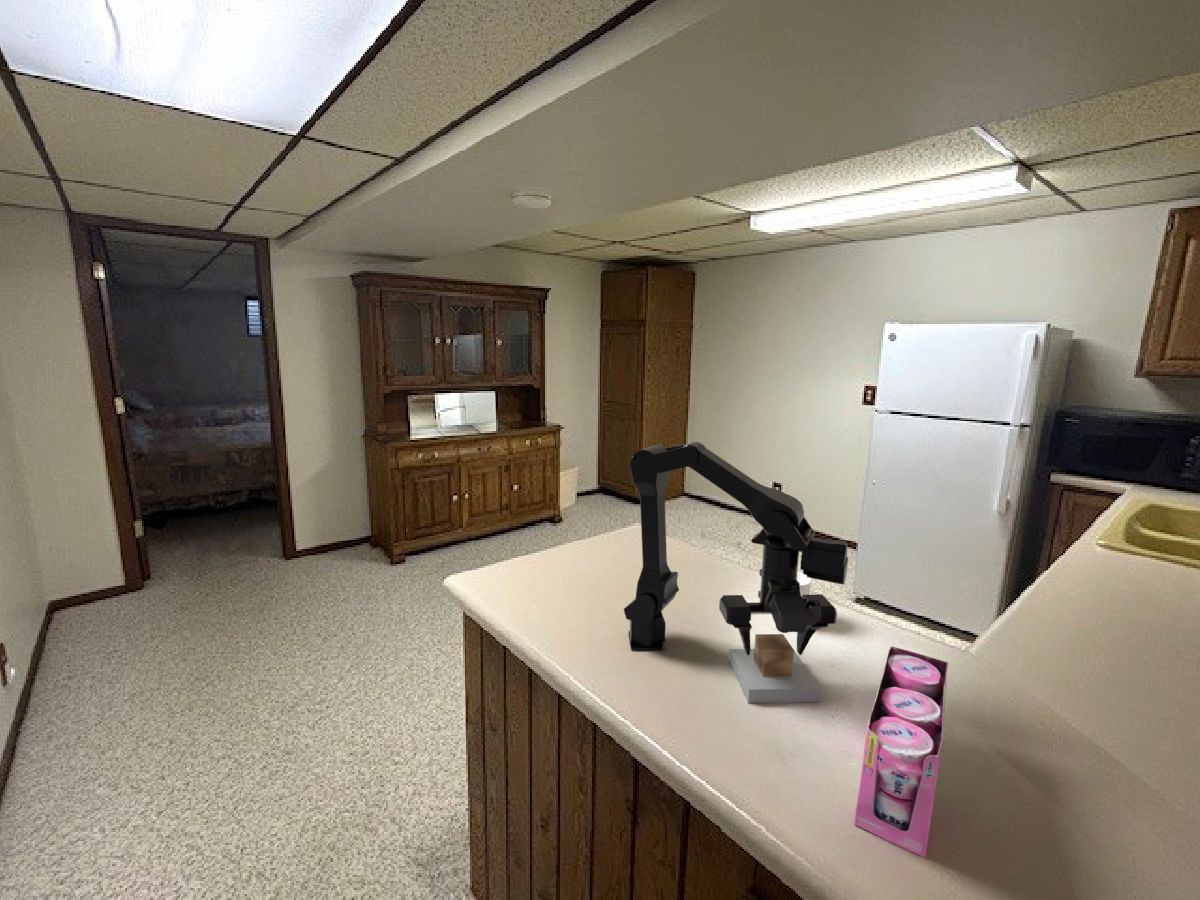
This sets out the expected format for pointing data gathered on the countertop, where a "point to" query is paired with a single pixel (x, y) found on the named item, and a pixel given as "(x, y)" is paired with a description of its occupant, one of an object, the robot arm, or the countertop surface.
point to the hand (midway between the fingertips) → (773, 653)
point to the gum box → (903, 750)
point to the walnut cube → (773, 655)
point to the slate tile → (773, 681)
